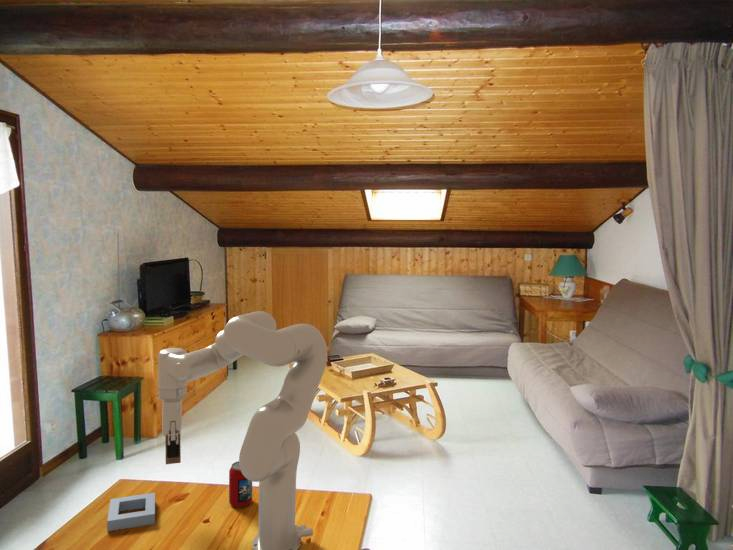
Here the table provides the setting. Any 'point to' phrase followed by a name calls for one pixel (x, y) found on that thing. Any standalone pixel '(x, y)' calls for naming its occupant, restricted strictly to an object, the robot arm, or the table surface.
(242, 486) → the beverage can
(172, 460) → the walnut peg
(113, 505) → the grey square frame
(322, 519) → the table surface
